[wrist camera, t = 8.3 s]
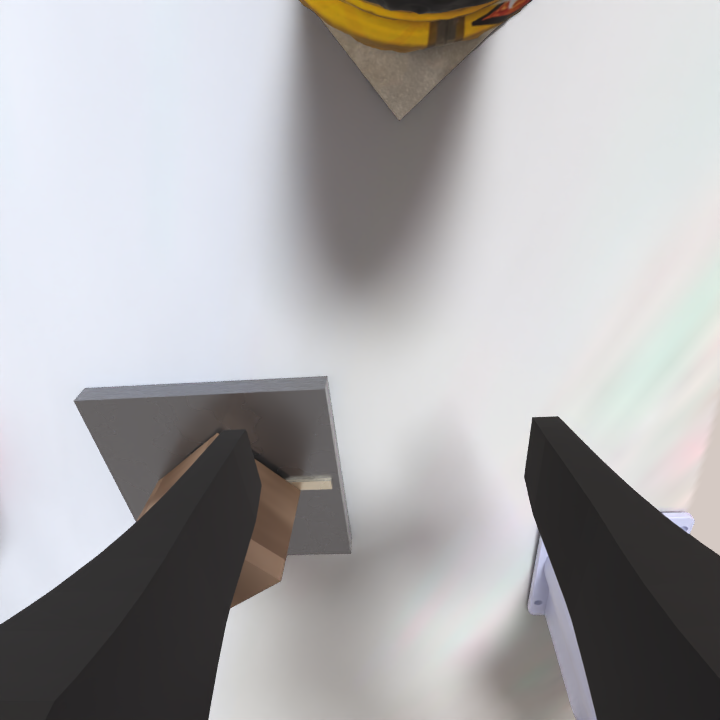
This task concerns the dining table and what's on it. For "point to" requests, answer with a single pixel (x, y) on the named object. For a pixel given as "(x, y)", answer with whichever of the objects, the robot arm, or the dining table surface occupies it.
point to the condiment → (410, 39)
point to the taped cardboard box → (269, 528)
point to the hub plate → (213, 415)
